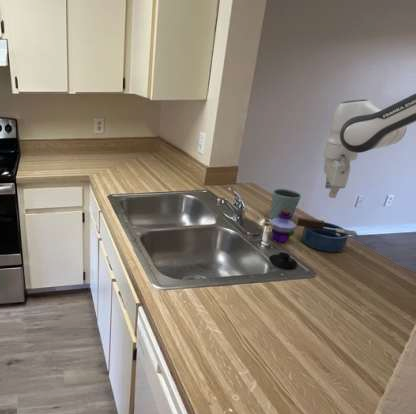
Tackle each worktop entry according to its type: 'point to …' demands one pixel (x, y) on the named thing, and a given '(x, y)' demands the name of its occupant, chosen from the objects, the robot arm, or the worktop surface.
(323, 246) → the bowl
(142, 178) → the worktop surface
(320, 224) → the fork
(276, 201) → the grey-green tapered cup
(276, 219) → the potion bottle
